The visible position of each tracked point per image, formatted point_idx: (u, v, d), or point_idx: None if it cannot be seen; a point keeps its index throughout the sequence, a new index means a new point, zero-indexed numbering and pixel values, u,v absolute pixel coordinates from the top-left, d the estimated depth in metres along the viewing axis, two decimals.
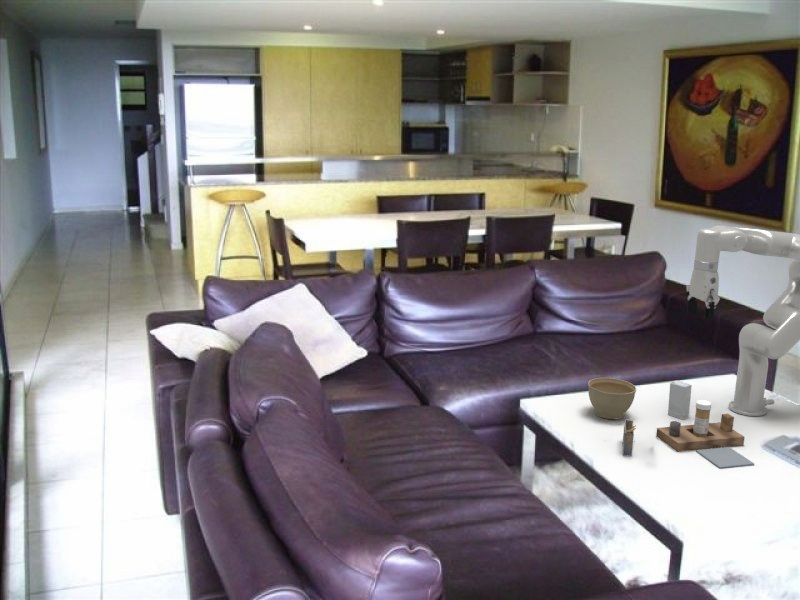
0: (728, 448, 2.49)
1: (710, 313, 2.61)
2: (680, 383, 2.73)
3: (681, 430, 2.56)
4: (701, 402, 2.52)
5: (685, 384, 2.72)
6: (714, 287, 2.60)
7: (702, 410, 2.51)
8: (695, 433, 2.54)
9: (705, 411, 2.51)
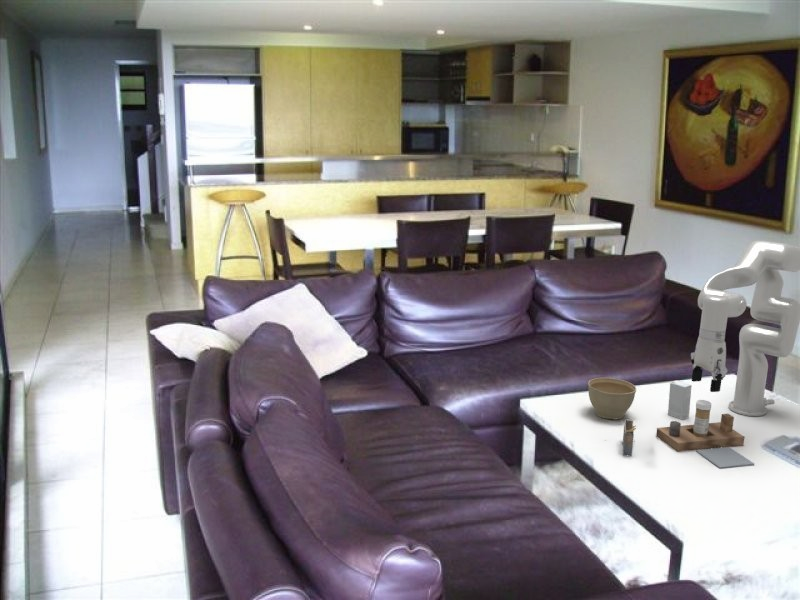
0: (728, 448, 2.49)
1: (717, 385, 2.45)
2: (680, 383, 2.73)
3: (681, 430, 2.56)
4: (701, 402, 2.52)
5: (685, 384, 2.72)
6: (721, 358, 2.44)
7: (702, 410, 2.51)
8: (695, 433, 2.54)
9: (705, 411, 2.51)
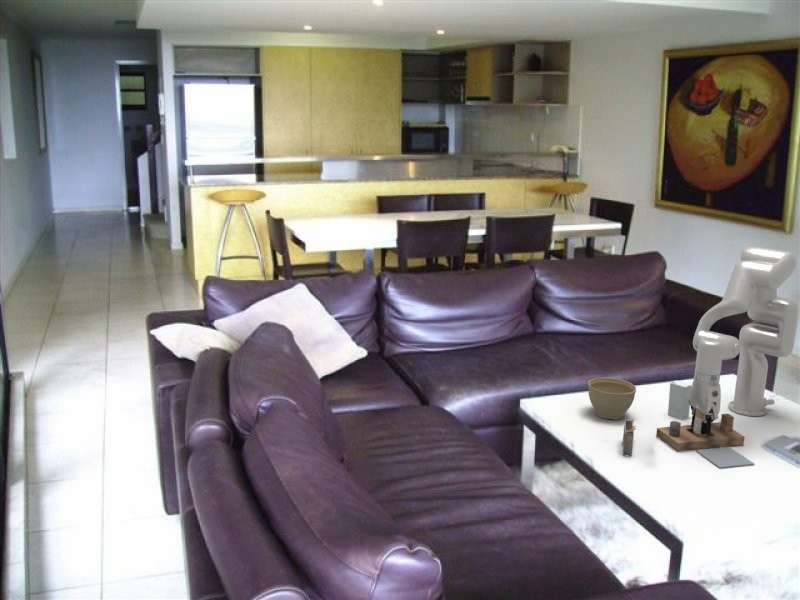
0: (728, 448, 2.49)
1: (707, 428, 2.51)
2: (680, 383, 2.73)
3: (681, 430, 2.56)
4: None
5: (685, 384, 2.72)
6: (716, 400, 2.47)
7: None
8: (695, 433, 2.54)
9: None
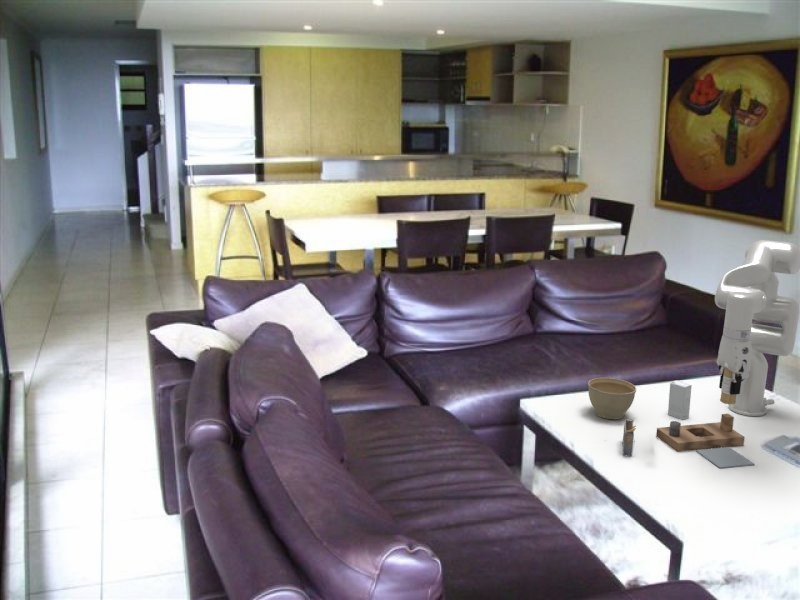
0: (728, 448, 2.49)
1: (737, 387, 2.36)
2: (680, 383, 2.73)
3: (681, 430, 2.56)
4: None
5: (685, 384, 2.72)
6: (746, 358, 2.32)
7: None
8: (723, 394, 2.39)
9: None
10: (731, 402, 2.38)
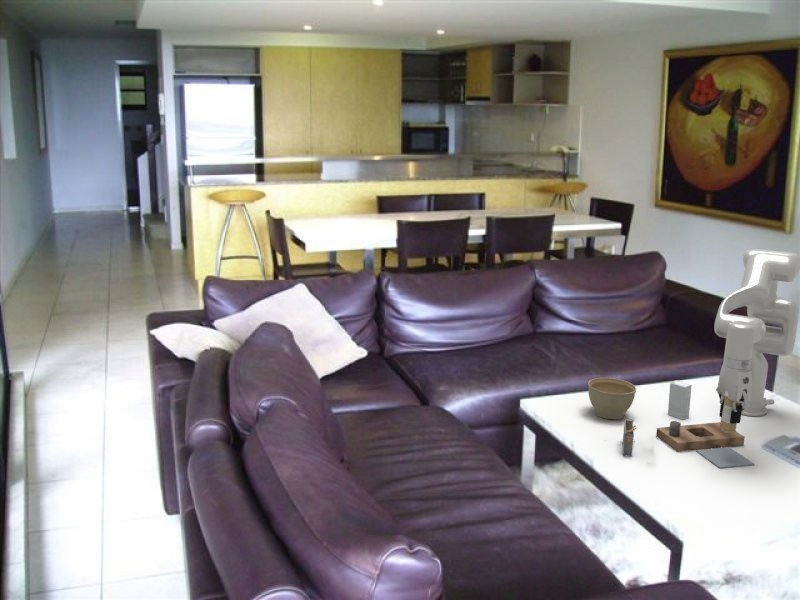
0: (728, 448, 2.49)
1: (737, 417, 2.36)
2: (680, 383, 2.73)
3: (681, 430, 2.56)
4: None
5: (685, 384, 2.72)
6: (747, 387, 2.33)
7: None
8: (724, 422, 2.40)
9: None
10: (731, 431, 2.39)
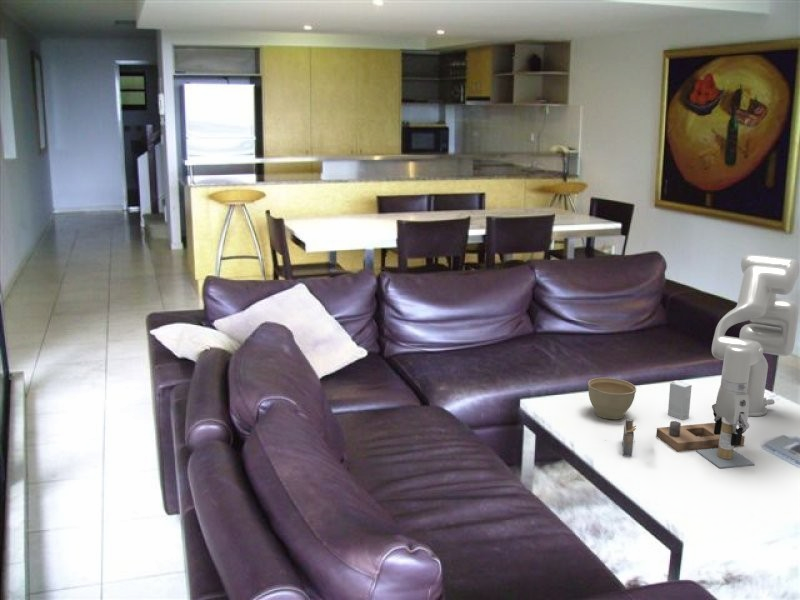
0: None
1: (738, 439, 2.37)
2: (680, 383, 2.73)
3: (681, 430, 2.56)
4: None
5: (685, 384, 2.72)
6: (744, 410, 2.35)
7: (728, 425, 2.39)
8: (721, 448, 2.42)
9: None
10: (728, 457, 2.41)
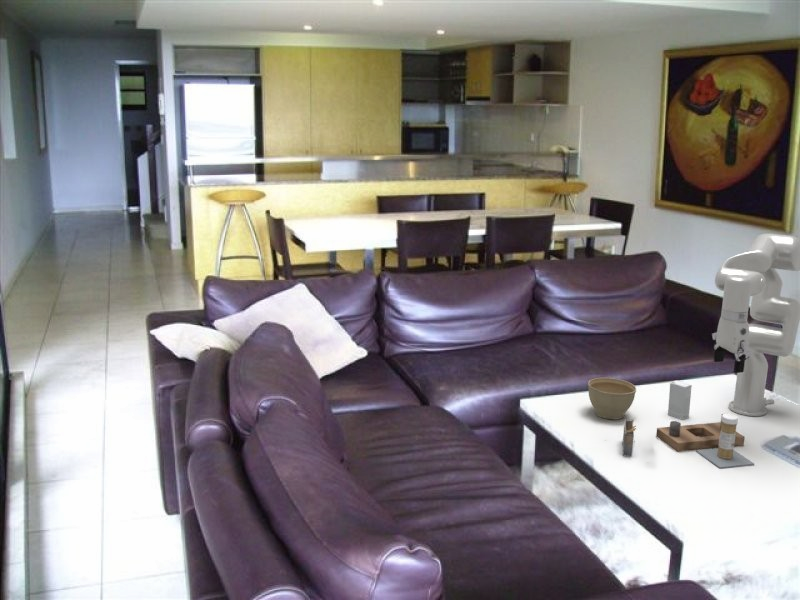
0: None
1: (740, 366, 2.42)
2: (680, 383, 2.73)
3: (681, 430, 2.56)
4: (727, 416, 2.40)
5: (685, 384, 2.72)
6: (744, 338, 2.41)
7: (728, 424, 2.39)
8: (720, 448, 2.42)
9: (731, 425, 2.39)
10: (728, 457, 2.41)
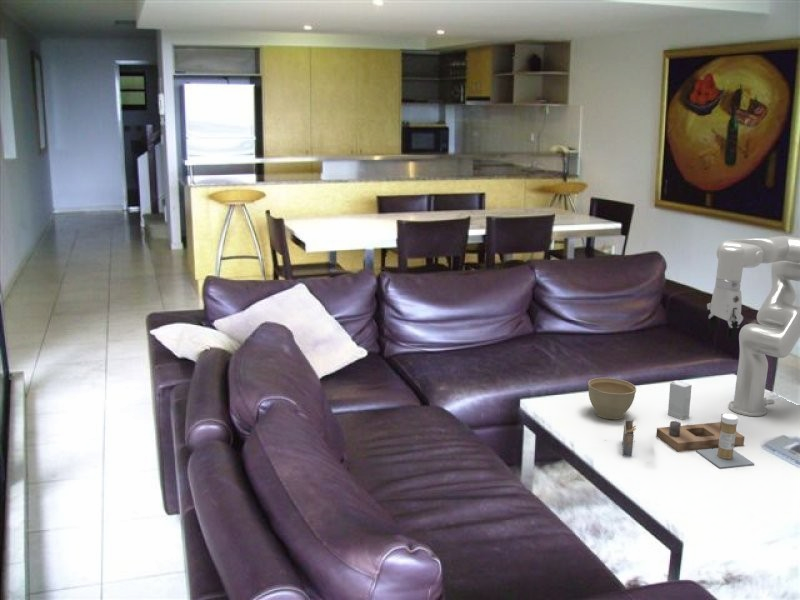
0: None
1: (733, 333, 2.54)
2: (680, 383, 2.73)
3: (681, 430, 2.56)
4: (727, 416, 2.40)
5: (685, 384, 2.72)
6: (737, 306, 2.52)
7: (728, 424, 2.39)
8: (720, 448, 2.42)
9: (731, 425, 2.39)
10: (728, 457, 2.41)
